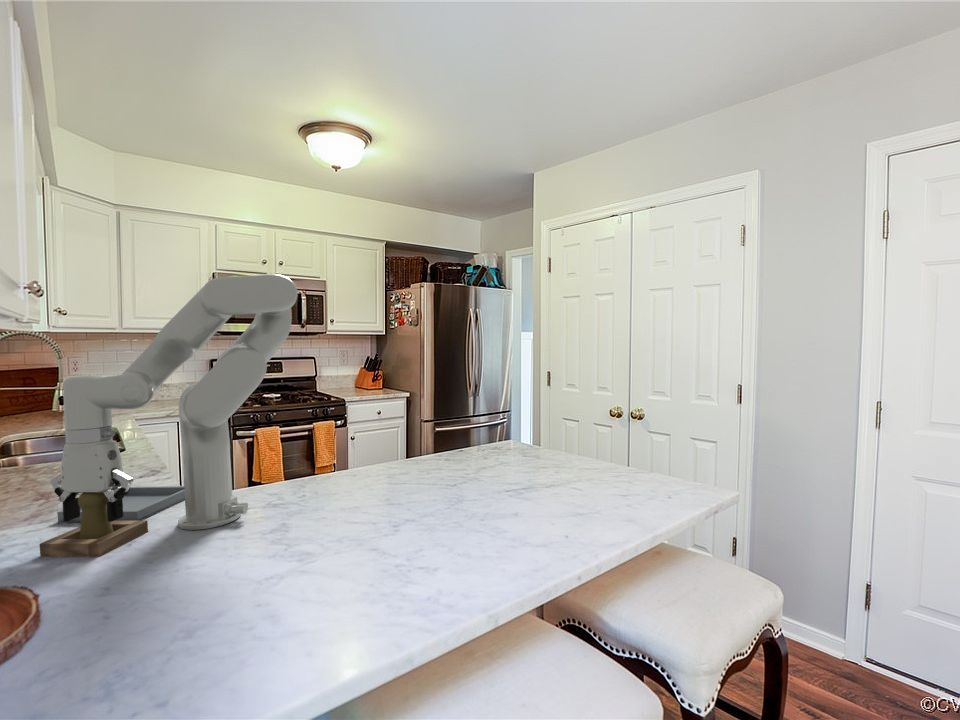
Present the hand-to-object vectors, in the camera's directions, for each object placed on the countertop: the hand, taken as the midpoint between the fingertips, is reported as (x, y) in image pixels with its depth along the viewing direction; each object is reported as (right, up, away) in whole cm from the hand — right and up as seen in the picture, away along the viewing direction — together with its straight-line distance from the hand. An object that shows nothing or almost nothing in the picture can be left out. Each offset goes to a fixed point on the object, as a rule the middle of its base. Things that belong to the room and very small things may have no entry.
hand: (93, 519), depth 102 cm
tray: (-8, -5, +23) cm, 25 cm away
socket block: (0, -5, 0) cm, 5 cm away
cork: (0, -5, 0) cm, 5 cm away
